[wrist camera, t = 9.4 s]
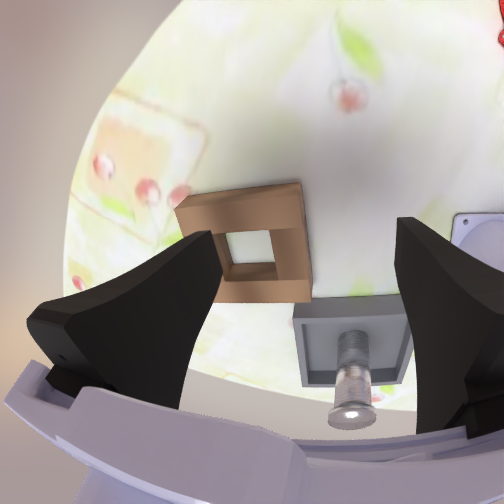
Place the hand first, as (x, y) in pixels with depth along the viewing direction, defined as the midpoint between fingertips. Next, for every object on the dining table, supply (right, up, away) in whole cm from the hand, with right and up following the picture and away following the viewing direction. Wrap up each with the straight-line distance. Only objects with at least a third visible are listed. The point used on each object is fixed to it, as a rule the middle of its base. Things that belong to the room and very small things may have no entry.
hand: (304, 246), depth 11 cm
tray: (+9, -9, +16) cm, 21 cm away
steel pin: (+8, -9, +16) cm, 20 cm away
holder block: (-2, +1, +13) cm, 13 cm away
